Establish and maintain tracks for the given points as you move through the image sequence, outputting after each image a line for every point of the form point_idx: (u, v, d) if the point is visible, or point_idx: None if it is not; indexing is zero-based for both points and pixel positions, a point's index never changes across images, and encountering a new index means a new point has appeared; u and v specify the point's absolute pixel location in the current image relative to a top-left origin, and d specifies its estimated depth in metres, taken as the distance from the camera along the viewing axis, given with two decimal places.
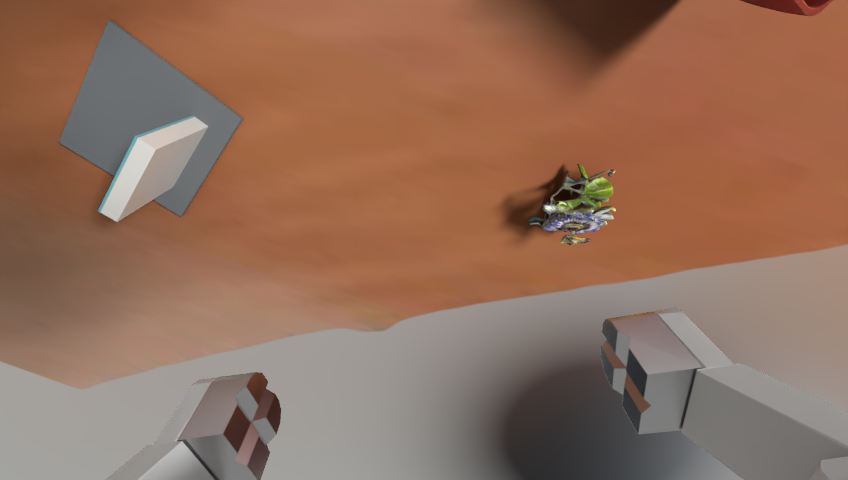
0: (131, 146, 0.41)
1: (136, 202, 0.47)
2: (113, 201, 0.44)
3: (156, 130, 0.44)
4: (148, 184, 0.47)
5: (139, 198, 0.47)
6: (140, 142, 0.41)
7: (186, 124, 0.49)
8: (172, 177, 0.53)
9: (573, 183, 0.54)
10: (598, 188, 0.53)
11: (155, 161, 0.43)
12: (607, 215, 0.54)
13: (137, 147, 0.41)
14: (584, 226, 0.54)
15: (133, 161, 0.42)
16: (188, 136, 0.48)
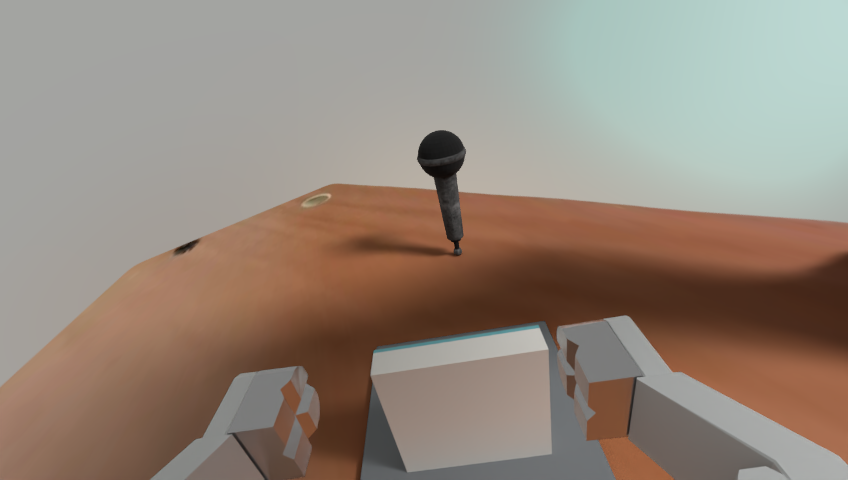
0: (518, 329, 0.26)
1: (408, 394, 0.26)
2: (406, 355, 0.26)
3: None
4: (448, 396, 0.26)
5: (416, 395, 0.26)
6: (536, 332, 0.25)
7: None
8: (439, 451, 0.29)
9: None
10: None
11: (514, 369, 0.25)
12: None
13: (525, 333, 0.26)
14: None
15: (499, 341, 0.25)
16: (547, 416, 0.27)
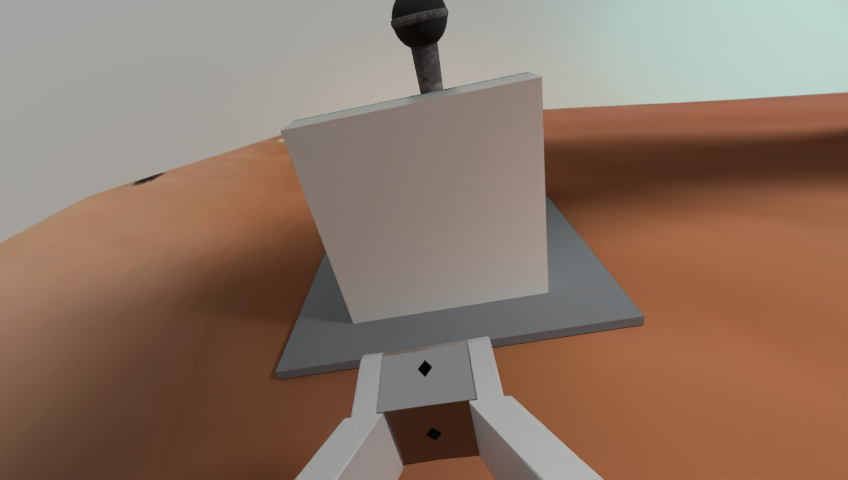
0: (499, 78, 0.18)
1: (339, 171, 0.18)
2: (337, 114, 0.18)
3: None
4: (398, 176, 0.18)
5: (352, 173, 0.18)
6: (524, 75, 0.17)
7: None
8: (394, 284, 0.21)
9: None
10: None
11: (491, 120, 0.17)
12: None
13: (508, 77, 0.18)
14: None
15: (470, 87, 0.17)
16: (541, 219, 0.19)
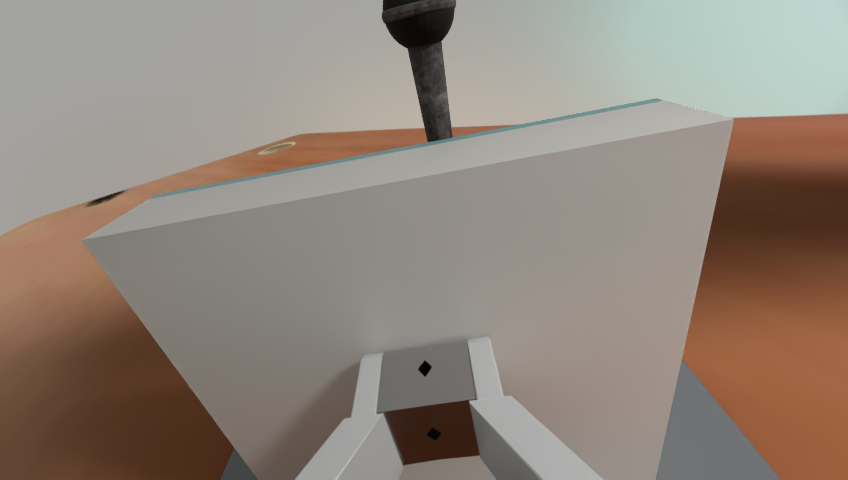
0: (593, 112, 0.08)
1: (238, 318, 0.08)
2: (234, 191, 0.08)
3: None
4: (369, 326, 0.08)
5: (268, 322, 0.08)
6: (658, 107, 0.08)
7: None
8: None
9: None
10: None
11: (589, 219, 0.07)
12: None
13: (621, 112, 0.08)
14: None
15: (534, 134, 0.08)
16: (663, 394, 0.10)
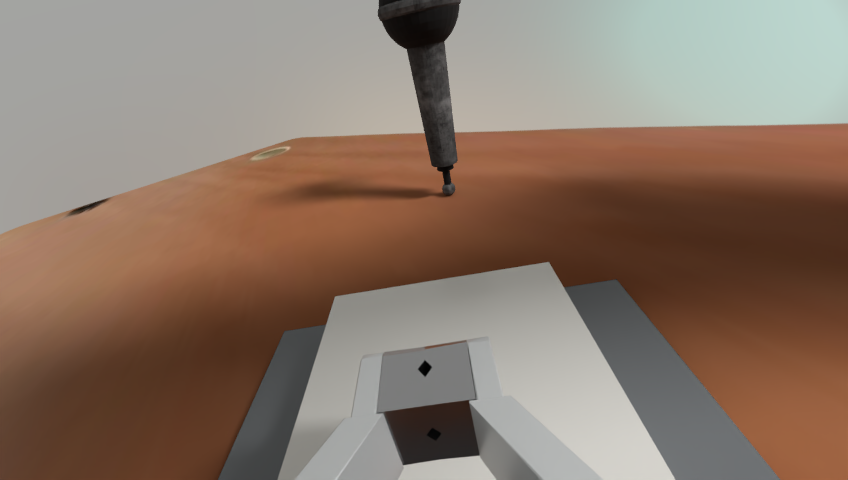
0: None
1: (365, 319, 0.19)
2: None
3: None
4: (419, 322, 0.18)
5: (376, 321, 0.18)
6: None
7: None
8: None
9: None
10: None
11: (511, 284, 0.19)
12: None
13: None
14: None
15: None
16: (599, 363, 0.14)
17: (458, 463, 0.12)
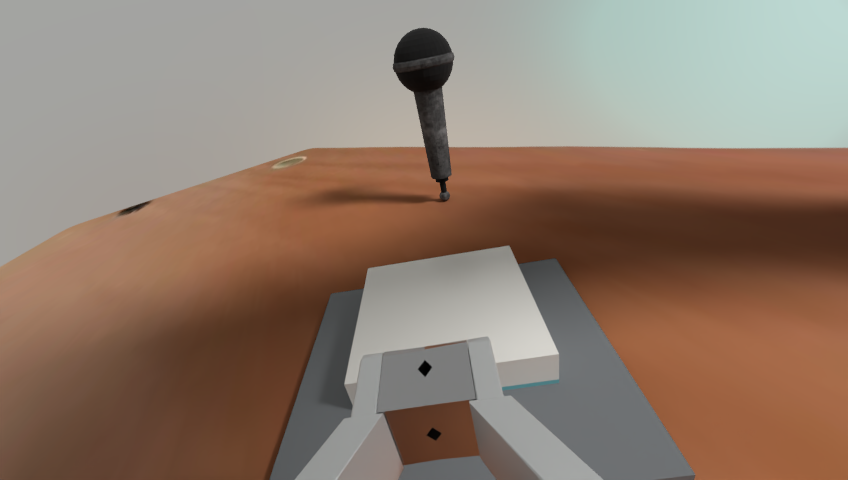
0: None
1: (390, 280, 0.29)
2: None
3: None
4: (425, 281, 0.28)
5: (397, 281, 0.29)
6: None
7: None
8: (400, 345, 0.23)
9: None
10: None
11: (483, 259, 0.29)
12: None
13: None
14: None
15: None
16: (529, 298, 0.24)
17: None
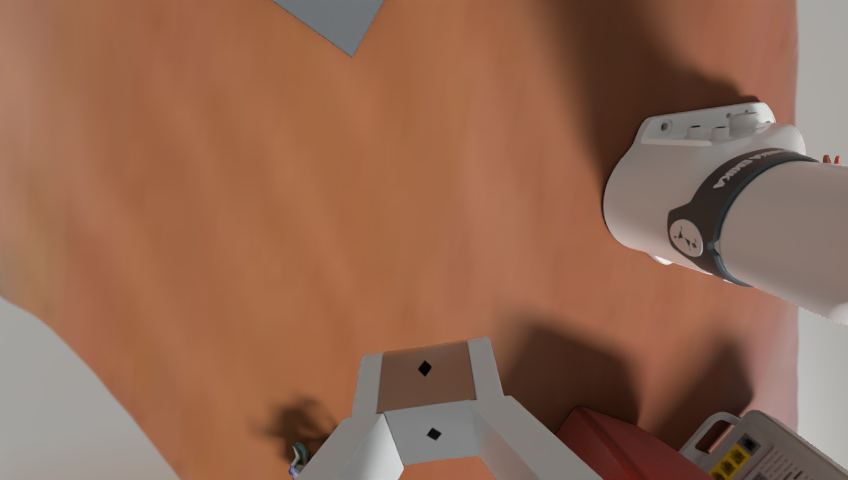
0: None
1: None
2: None
3: None
4: None
5: None
6: None
7: None
8: None
9: None
10: None
11: None
12: None
13: None
14: None
15: None
16: None
17: None
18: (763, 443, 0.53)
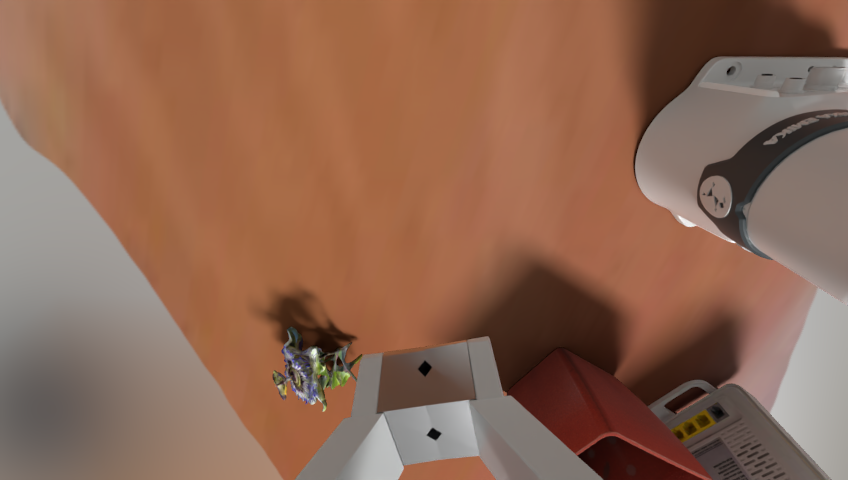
0: None
1: None
2: None
3: None
4: None
5: None
6: None
7: None
8: None
9: (342, 358, 0.51)
10: (340, 381, 0.52)
11: None
12: (314, 399, 0.51)
13: None
14: (298, 386, 0.49)
15: None
16: None
17: None
18: (732, 414, 0.55)
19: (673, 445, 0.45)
